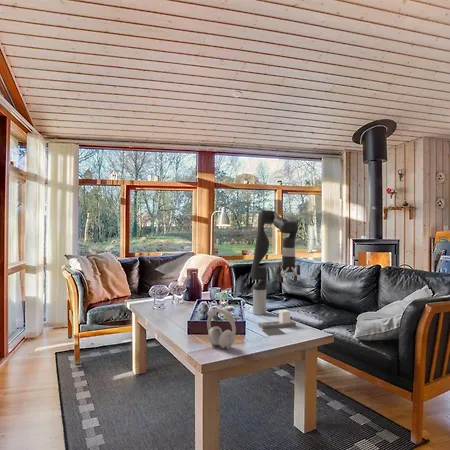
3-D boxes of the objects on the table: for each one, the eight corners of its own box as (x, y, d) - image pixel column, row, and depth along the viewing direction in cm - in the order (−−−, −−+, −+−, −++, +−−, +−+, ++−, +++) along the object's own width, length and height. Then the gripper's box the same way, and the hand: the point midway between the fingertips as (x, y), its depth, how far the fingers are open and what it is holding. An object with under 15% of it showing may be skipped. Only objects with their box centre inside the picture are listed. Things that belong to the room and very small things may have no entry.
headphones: (202, 344, 193) (202, 306, 193) (213, 340, 199) (213, 304, 199) (229, 353, 180) (229, 313, 180) (239, 349, 186) (240, 310, 186)
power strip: (258, 326, 225) (258, 322, 225) (290, 324, 231) (290, 319, 231) (262, 330, 218) (262, 325, 218) (295, 327, 224) (295, 322, 224)
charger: (279, 324, 228) (279, 310, 228) (286, 324, 229) (286, 309, 229) (282, 326, 223) (282, 312, 223) (289, 326, 224) (290, 311, 224)
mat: (261, 331, 216) (261, 330, 216) (278, 329, 219) (278, 328, 219) (268, 336, 206) (268, 335, 206) (286, 335, 209) (286, 334, 209)
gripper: (296, 254, 220) (296, 281, 220) (274, 255, 216) (274, 282, 216) (302, 255, 213) (302, 283, 213) (280, 256, 209) (280, 284, 209)
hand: (288, 282), depth 214 cm, fingers open, 8 cm apart
